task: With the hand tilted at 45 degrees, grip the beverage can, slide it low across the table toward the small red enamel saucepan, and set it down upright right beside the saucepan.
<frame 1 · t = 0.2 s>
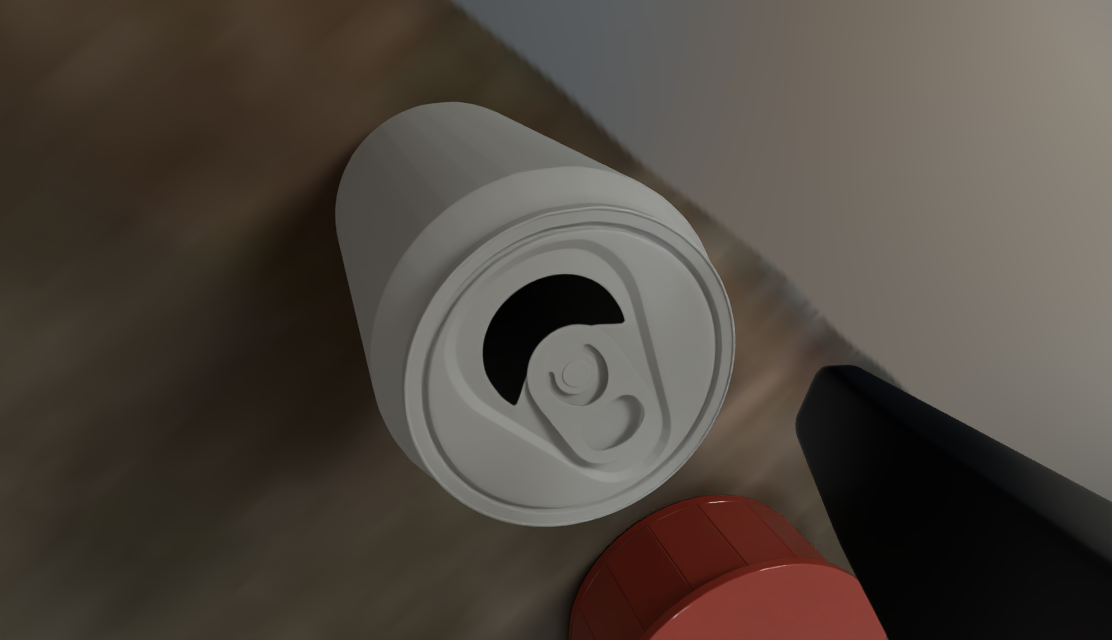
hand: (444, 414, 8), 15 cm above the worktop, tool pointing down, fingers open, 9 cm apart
pot: (689, 604, 32), on the worktop
beverage can: (444, 209, 23), on the worktop
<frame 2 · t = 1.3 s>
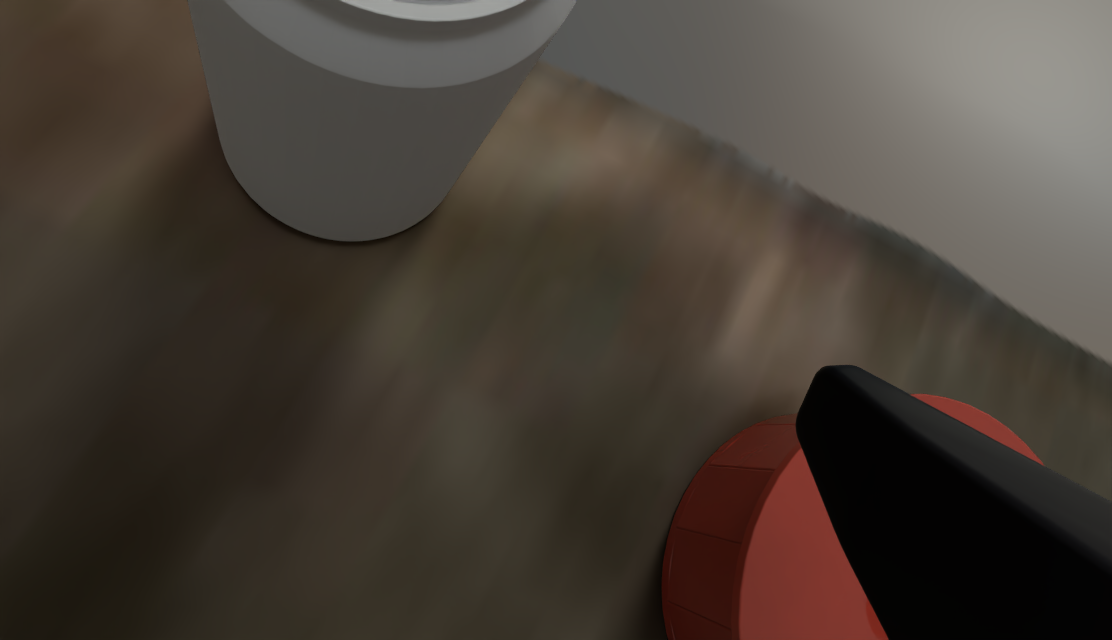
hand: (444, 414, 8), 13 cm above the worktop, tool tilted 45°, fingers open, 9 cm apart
pot: (811, 581, 24), on the worktop
beverage can: (345, 138, 22), on the worktop
pot lid: (920, 612, 20), point 4 cm above the worktop, touching pot
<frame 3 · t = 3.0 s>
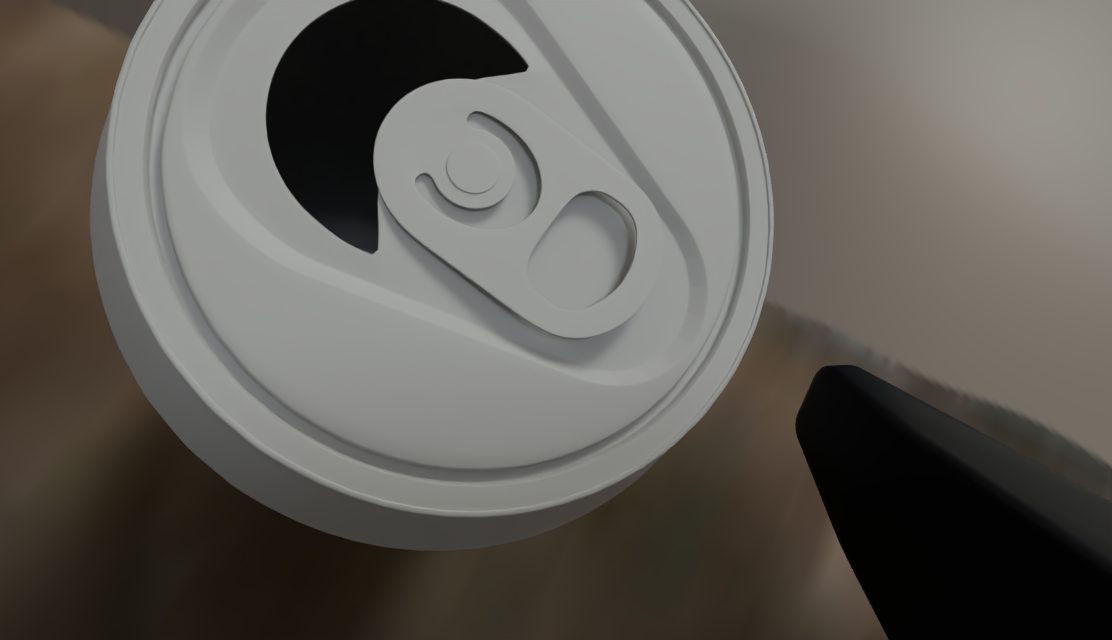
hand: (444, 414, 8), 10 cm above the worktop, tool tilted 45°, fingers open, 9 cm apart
beverage can: (367, 357, 18), on the worktop
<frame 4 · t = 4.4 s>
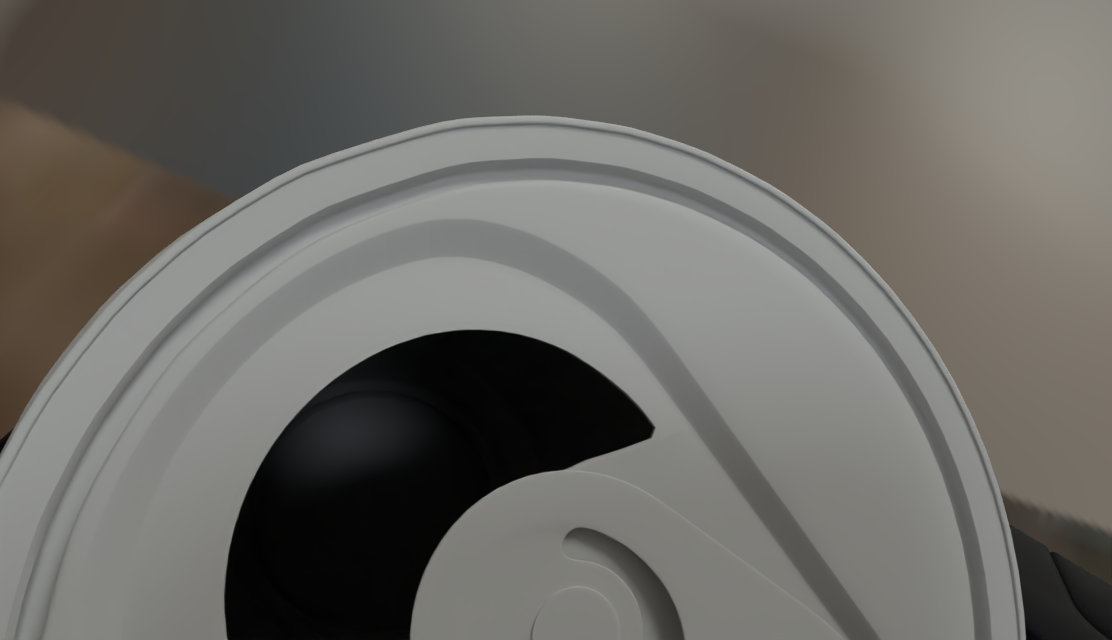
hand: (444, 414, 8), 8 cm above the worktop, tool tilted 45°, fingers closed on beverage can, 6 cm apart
beverage can: (376, 508, 15), on the worktop, touching gripper
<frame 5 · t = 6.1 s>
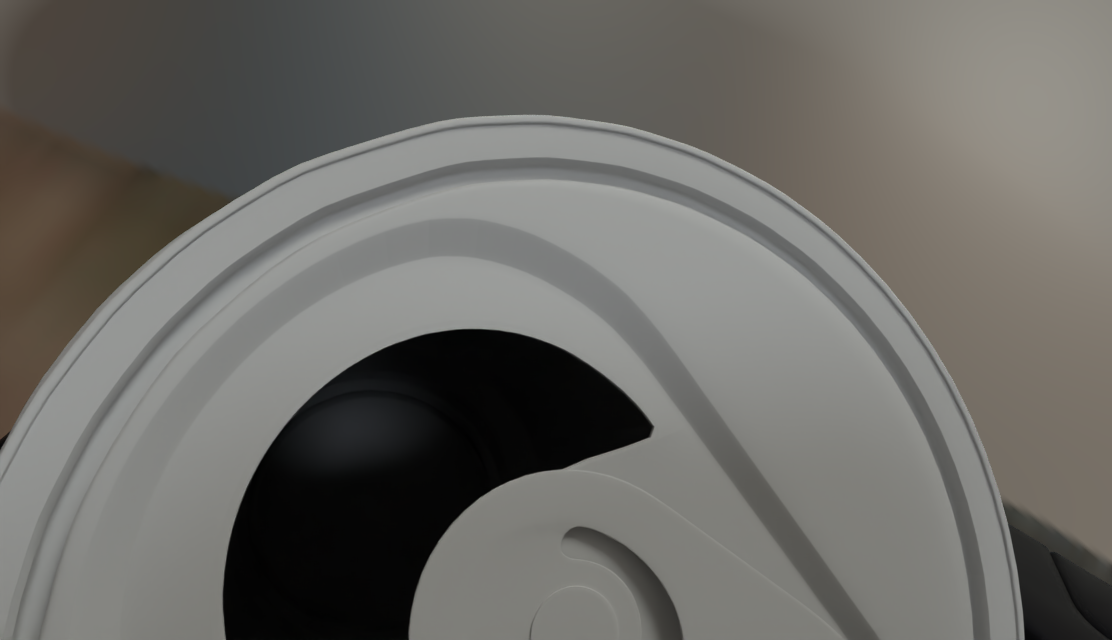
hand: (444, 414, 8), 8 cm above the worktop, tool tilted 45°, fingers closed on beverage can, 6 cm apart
beverage can: (376, 508, 15), on the worktop, touching gripper
when the fingers open (8 cm above the worktop, at t = 8.0 s): beverage can stays where it is, on the worktop.
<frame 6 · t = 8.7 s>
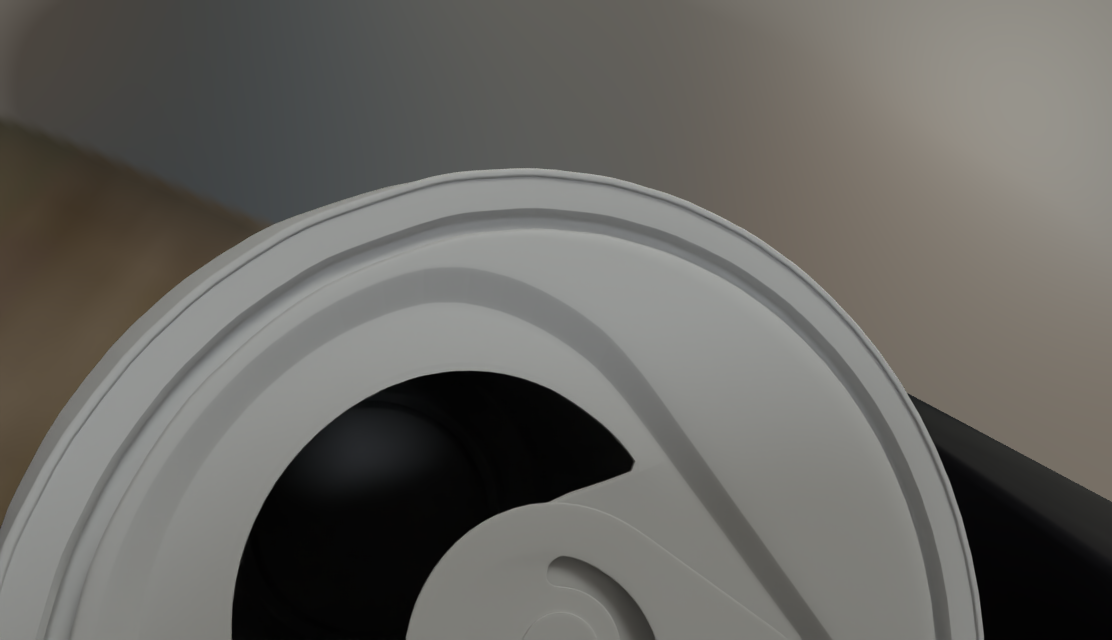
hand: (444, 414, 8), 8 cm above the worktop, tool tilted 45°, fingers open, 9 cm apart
beverage can: (374, 516, 16), on the worktop
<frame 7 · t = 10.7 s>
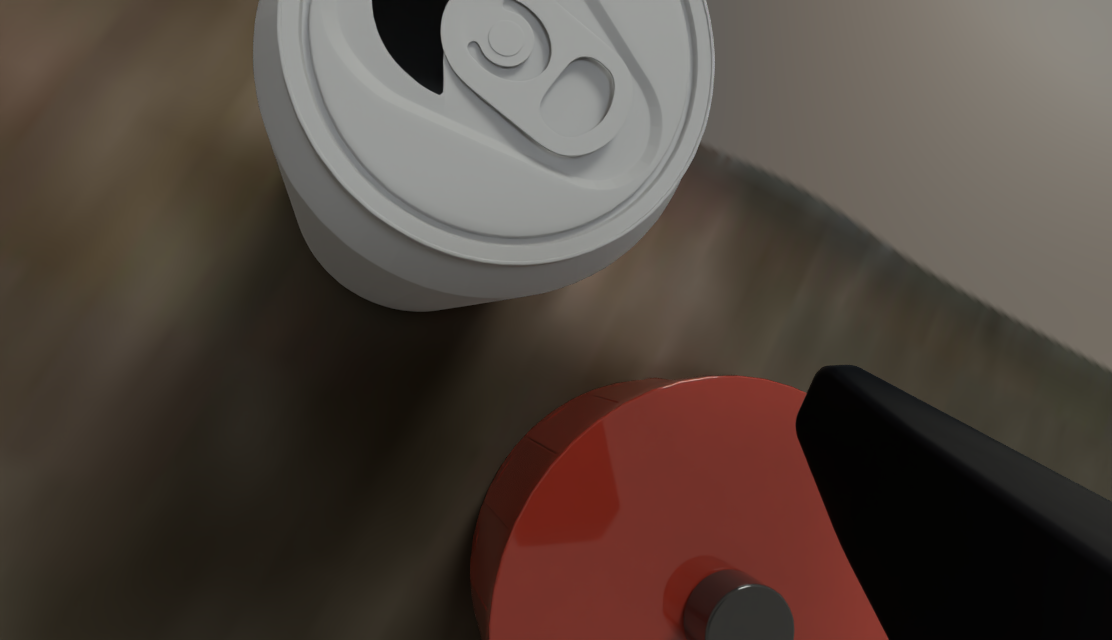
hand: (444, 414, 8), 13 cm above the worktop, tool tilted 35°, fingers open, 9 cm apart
pot: (645, 556, 23), on the worktop
beverage can: (416, 197, 21), on the worktop
pot lid: (717, 609, 19), point 4 cm above the worktop, touching pot
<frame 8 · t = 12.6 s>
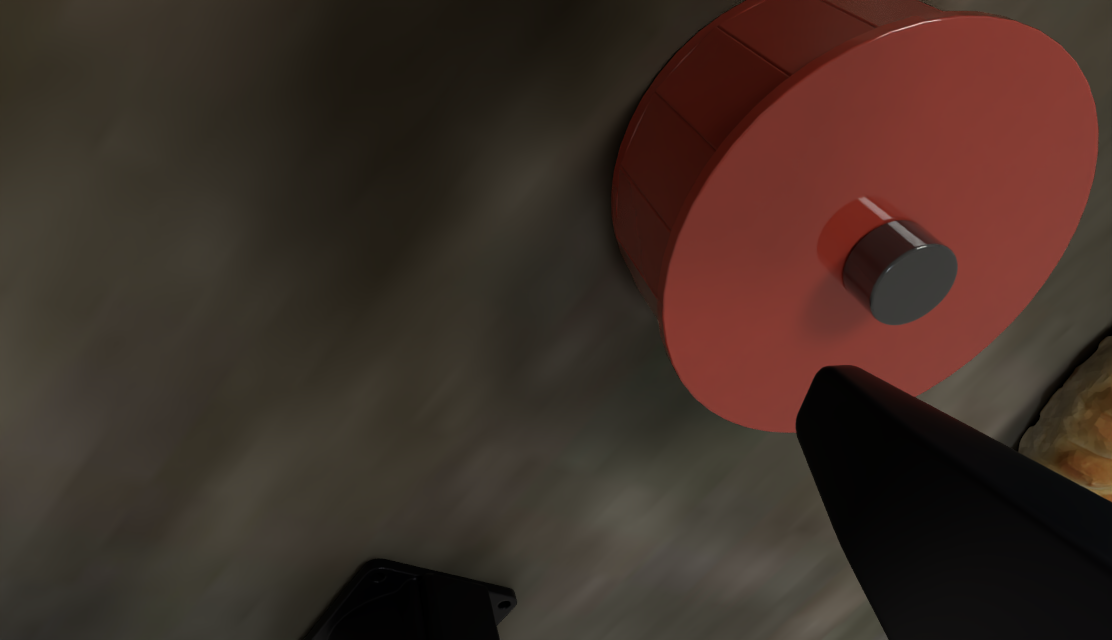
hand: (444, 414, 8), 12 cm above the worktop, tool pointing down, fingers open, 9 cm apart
pot: (783, 170, 22), on the worktop
pastry: (1090, 392, 34), on the worktop
pot lid: (874, 251, 19), point 4 cm above the worktop, touching pot
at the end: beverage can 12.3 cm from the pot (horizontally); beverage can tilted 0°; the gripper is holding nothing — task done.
